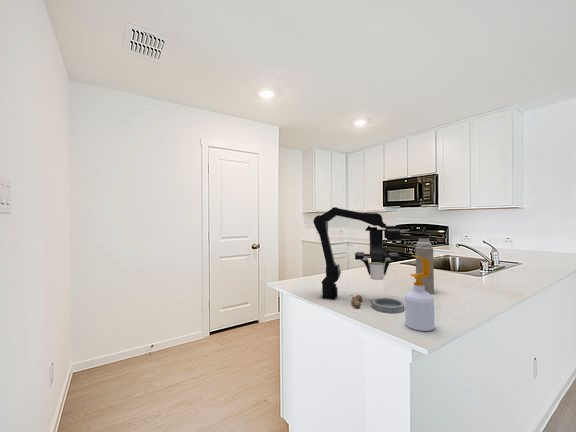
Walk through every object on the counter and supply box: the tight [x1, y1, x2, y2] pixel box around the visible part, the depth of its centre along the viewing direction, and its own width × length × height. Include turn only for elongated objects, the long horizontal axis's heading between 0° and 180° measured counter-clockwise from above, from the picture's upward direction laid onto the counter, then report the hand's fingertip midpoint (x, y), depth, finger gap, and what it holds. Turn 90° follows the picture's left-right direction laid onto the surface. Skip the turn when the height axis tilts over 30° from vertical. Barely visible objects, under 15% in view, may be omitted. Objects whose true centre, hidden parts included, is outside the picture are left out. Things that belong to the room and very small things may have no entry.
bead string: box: [351, 294, 363, 309], centre depth 118 cm, size 11×4×3 cm, turn 161°
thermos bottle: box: [414, 235, 435, 295], centre depth 135 cm, size 8×8×28 cm
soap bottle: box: [404, 254, 436, 332], centre depth 94 cm, size 9×9×25 cm
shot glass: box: [369, 261, 385, 281], centre depth 122 cm, size 7×7×7 cm
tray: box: [371, 297, 405, 314], centre depth 113 cm, size 12×12×2 cm
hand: (377, 275), depth 122 cm, fingers closed on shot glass, 6 cm apart
